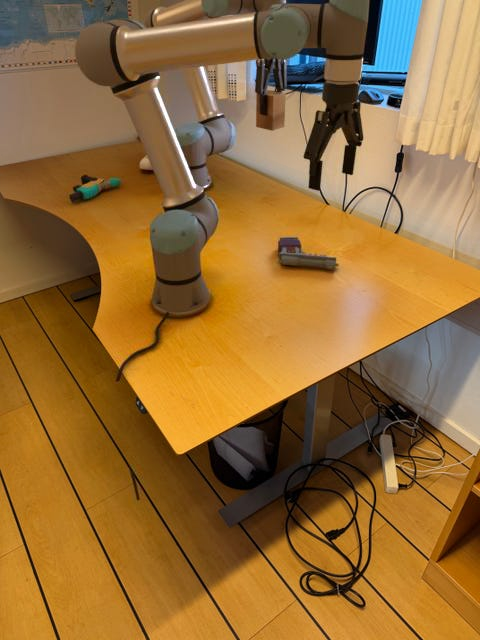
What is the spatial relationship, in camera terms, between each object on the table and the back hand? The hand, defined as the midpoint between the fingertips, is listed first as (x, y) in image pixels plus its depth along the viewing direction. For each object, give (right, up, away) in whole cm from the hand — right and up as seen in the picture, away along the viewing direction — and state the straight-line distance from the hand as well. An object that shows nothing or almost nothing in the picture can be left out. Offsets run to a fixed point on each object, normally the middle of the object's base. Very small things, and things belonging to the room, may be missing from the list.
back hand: (270, 112), depth 167 cm
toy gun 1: (-71, -22, +23) cm, 78 cm away
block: (0, -4, +3) cm, 5 cm away
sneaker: (-48, -1, +51) cm, 70 cm away
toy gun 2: (+10, -55, -23) cm, 60 cm away
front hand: (+11, -40, -55) cm, 69 cm away
